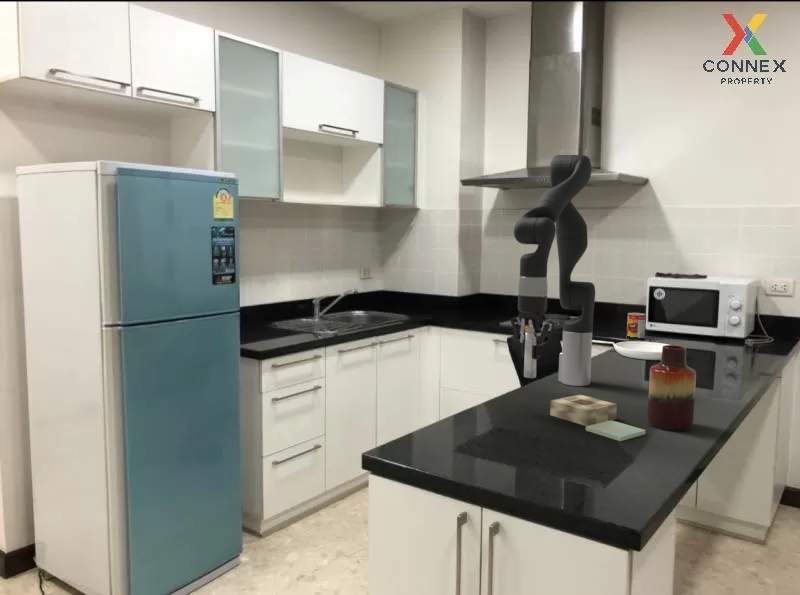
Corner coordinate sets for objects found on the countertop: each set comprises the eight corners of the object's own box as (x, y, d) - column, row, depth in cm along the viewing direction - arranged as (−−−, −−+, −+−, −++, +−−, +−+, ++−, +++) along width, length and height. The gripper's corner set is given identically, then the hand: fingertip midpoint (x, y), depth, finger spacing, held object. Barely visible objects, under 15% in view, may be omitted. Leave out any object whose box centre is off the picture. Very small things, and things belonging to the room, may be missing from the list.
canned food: (632, 337, 309) (633, 312, 308) (647, 339, 303) (648, 314, 302) (623, 338, 304) (624, 313, 303) (638, 340, 298) (639, 315, 297)
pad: (585, 430, 159) (585, 426, 159) (610, 423, 165) (610, 420, 165) (620, 441, 151) (620, 437, 151) (645, 434, 157) (645, 430, 157)
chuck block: (550, 415, 172) (550, 400, 172) (579, 408, 179) (579, 394, 179) (586, 426, 162) (587, 410, 162) (616, 419, 169) (616, 404, 169)
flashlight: (520, 376, 173) (522, 324, 171) (529, 374, 175) (531, 323, 173) (530, 378, 170) (531, 326, 168) (539, 376, 172) (540, 325, 170)
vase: (652, 430, 160) (657, 349, 158) (642, 418, 171) (646, 342, 169) (698, 432, 159) (703, 351, 157) (685, 420, 169) (690, 344, 167)
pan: (676, 364, 244) (676, 353, 244) (573, 354, 264) (573, 343, 263) (683, 354, 266) (684, 344, 265) (588, 345, 285) (588, 335, 285)
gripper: (503, 291, 173) (501, 354, 175) (543, 297, 162) (540, 364, 164) (523, 290, 178) (521, 351, 180) (563, 295, 166) (560, 360, 168)
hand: (530, 357), depth 172 cm, fingers closed on flashlight, 3 cm apart
